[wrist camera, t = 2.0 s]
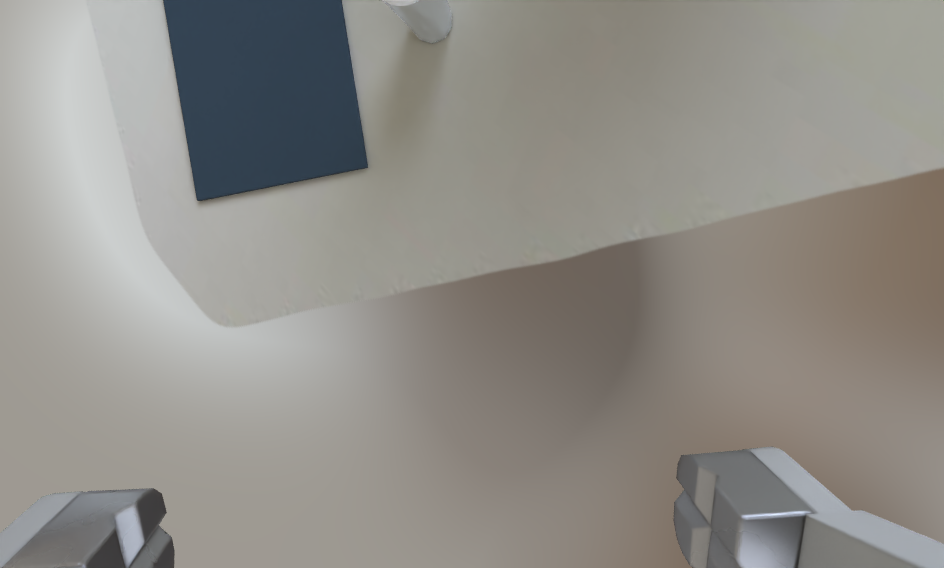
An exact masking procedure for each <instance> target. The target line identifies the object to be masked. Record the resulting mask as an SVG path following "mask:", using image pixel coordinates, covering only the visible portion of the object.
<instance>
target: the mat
mask: <svg viewBox="0 0 944 568" xmlns="http://www.w3.org/2000/svg"><path fill="white" fill-rule="evenodd" d="M163 1H164V7H165V13H166V19H167V25H168V31H169V37H170V43H171V49H172V55H173V61H174V67H175V72H176V78H177V84H178V90H179V96H180V102H181V108H182V114H183V120H184V126H185V132H186V138H187V144H188V150H189V156H190V162H191V167H192V173H193V179H194V185H195V191H196V197H197V201H202V200H207V199H212V198H217V197H222V196H227V195H232V194H237V193H242V192H247V191H253V190H258V189H263V188H268V187H273V186H278V185H283V184H288V183H293V182H298V181H303V180H308V179H313V178H318V177H323V176H328V175H333V174H338V173H343V172H348V171H353V170H358V169H363V168H368V164H367V158H366V152H365V145H364V139H363V133H362V126H361V120H360V114H359V108H358V101H357V95H356V89H355V82H354V76H353V70H352V64H351V57H350V51H349V45H348V38H347V32H346V26H345V19H344V13H343V7H342V1H341V0H163Z"/></svg>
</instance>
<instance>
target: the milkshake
mask: <svg viewBox="0 0 944 568" xmlns="http://www.w3.org/2000/svg"><path fill="white" fill-rule="evenodd" d="M381 1H383V2H384V3H385V4H386V5H387V6H389V7H390V8H391V9H392V10H393V11H394V12H395V13H396V14H397V15H398V16H399V17H400V18H401V19H402V20H403V22H404V23H405V24H406V25H407V26H408V27H409V28H410V29H411V30H412V31H413V32H414V33H415V34H416V36H417V37H418V38H419V39H420V40H422V41H426V42H429V43H432V44H433V43H435V42H438V41H440V40H443V39H445V37H446V36H447V34H448V33H449V31H450V30H451V28H452V13H451V9H450V6H449V3H448V0H381Z"/></svg>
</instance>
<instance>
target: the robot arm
mask: <svg viewBox="0 0 944 568" xmlns="http://www.w3.org/2000/svg"><path fill="white" fill-rule="evenodd" d="M676 478H677V480H678V481H679V482H680V484H681V485H682V487H683V488H684V489H685V490H684V491H683V492H682V494H681V495H680V496H679V497H678V498H677V500H676V501H675V502H674V525H675V531H676V536H677V540H678V543H679V545H680V548H681V551H682V553H683V555H684V556H685V558H686V560H687V561H688V563H689V565H690V566H691V567H693V568H944V544H943V543H941V542H938V541H936V540H933V539H931V538H929V537H926V536H924V535H921V534H919V533H917V532H914V531H912V530H909V529H907V528H904V527H902V526H900V525H897V524H895V523H892V522H890V521H887V520H885V519H883V518H880V517H877V516H875V515H873V514H870V513H868V512H865V511H863V510H861V511H852V510H851V509H850V508H848V507H847V506H846V505H845V504H844V503H843V502H841V501H840V500H839V499H838V498H837V497H836V496H834V495H833V494H832V493H831V492H830V491H829V490H828V489H826V488H825V487H824V486H823V485H822V484H821V483H820V482H818V481H817V480H816V479H815V478H814V477H813V476H812V475H810V474H809V473H808V472H807V471H806V470H805V469H803V468H802V467H801V466H800V465H799V464H798V463H797V462H795V461H794V460H793V459H792V458H791V457H790V456H788V455H787V454H786V453H785V452H784V451H783V450H781V449H778V448H775V447H764V448H753V449H743V450H738V451H727V452H715V453H703V454H692V455H691V454H690V455H681V458H680V460H679V462H678V467H677V477H676ZM165 514H166V508H165V505H164V501H163V497H162V494H161V493H160V492H158V491H157V490H155V489H153V488H151V489H131V490H130V489H129V490H105V491H88V492H67V493H54V494H50V495H47V496H43V497H41V498H40V499H39V500H37V501H36V502H35V503H34V504H33V505H32V506H31V507H30V508H28V509H27V510H26V511H25V512H24V513H23V514H21V515H20V516H19V517H18V518H17V519H16V520H15V521H14V522H12V523H11V524H10V525H9V526H8V527H7V528H5V529H4V530H3V531H2V532H1V533H0V568H174V546H173V541H172V537H171V536H170V535H169V534H167V533H166V532H165V531H164V530H163V529H162V528H161V527H160V526H159V524H160V522H161V521H162V519H163V517H164V516H165Z"/></svg>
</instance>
